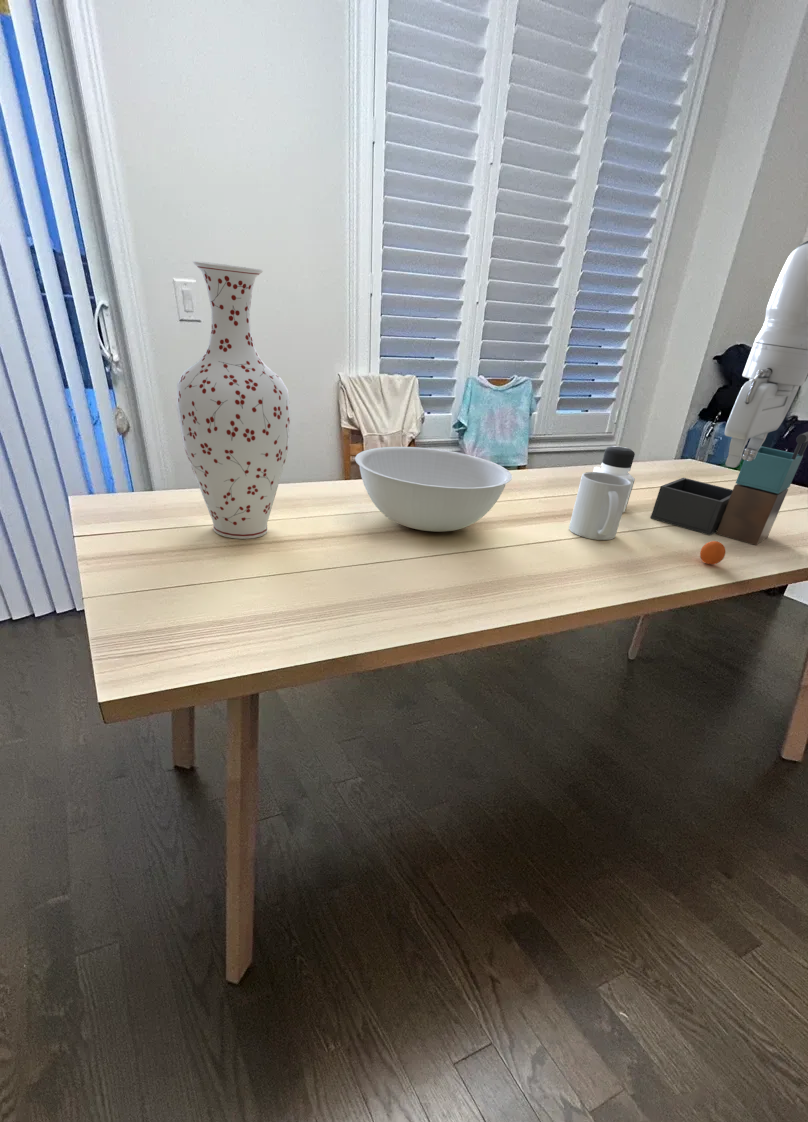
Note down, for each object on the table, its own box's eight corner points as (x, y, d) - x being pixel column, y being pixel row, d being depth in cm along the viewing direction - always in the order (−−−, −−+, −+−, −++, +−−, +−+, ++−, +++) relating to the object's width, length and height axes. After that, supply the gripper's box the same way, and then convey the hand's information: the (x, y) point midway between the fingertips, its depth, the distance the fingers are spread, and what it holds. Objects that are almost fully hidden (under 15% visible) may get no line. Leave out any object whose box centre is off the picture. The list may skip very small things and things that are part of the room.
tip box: (792, 487, 125) (817, 431, 119) (781, 494, 119) (806, 435, 113) (747, 477, 129) (769, 422, 123) (735, 483, 123) (757, 426, 117)
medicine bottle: (625, 513, 134) (643, 453, 128) (592, 509, 134) (608, 449, 127) (616, 503, 140) (633, 446, 134) (585, 500, 140) (600, 442, 133)
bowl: (323, 508, 116) (324, 450, 110) (436, 495, 131) (442, 443, 125) (414, 559, 99) (421, 494, 94) (532, 538, 114) (544, 481, 108)
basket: (729, 523, 136) (741, 492, 133) (709, 535, 127) (722, 502, 124) (672, 507, 142) (683, 477, 139) (650, 518, 133) (660, 486, 130)
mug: (578, 521, 126) (592, 469, 120) (624, 534, 122) (641, 480, 116) (557, 533, 118) (570, 477, 112) (605, 547, 114) (622, 490, 108)
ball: (723, 564, 113) (732, 542, 111) (716, 569, 110) (725, 547, 108) (700, 557, 115) (709, 536, 112) (693, 562, 112) (702, 540, 110)
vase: (310, 529, 106) (315, 275, 86) (248, 556, 94) (237, 266, 74) (233, 507, 111) (221, 263, 91) (165, 530, 99) (134, 253, 79)
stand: (767, 536, 131) (788, 488, 125) (756, 545, 125) (777, 495, 119) (728, 525, 135) (747, 478, 129) (715, 533, 129) (734, 484, 123)
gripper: (782, 372, 88) (741, 475, 96) (812, 370, 102) (774, 461, 109) (736, 365, 91) (700, 465, 99) (771, 364, 105) (737, 452, 113)
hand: (739, 463), depth 104 cm, fingers open, 8 cm apart
